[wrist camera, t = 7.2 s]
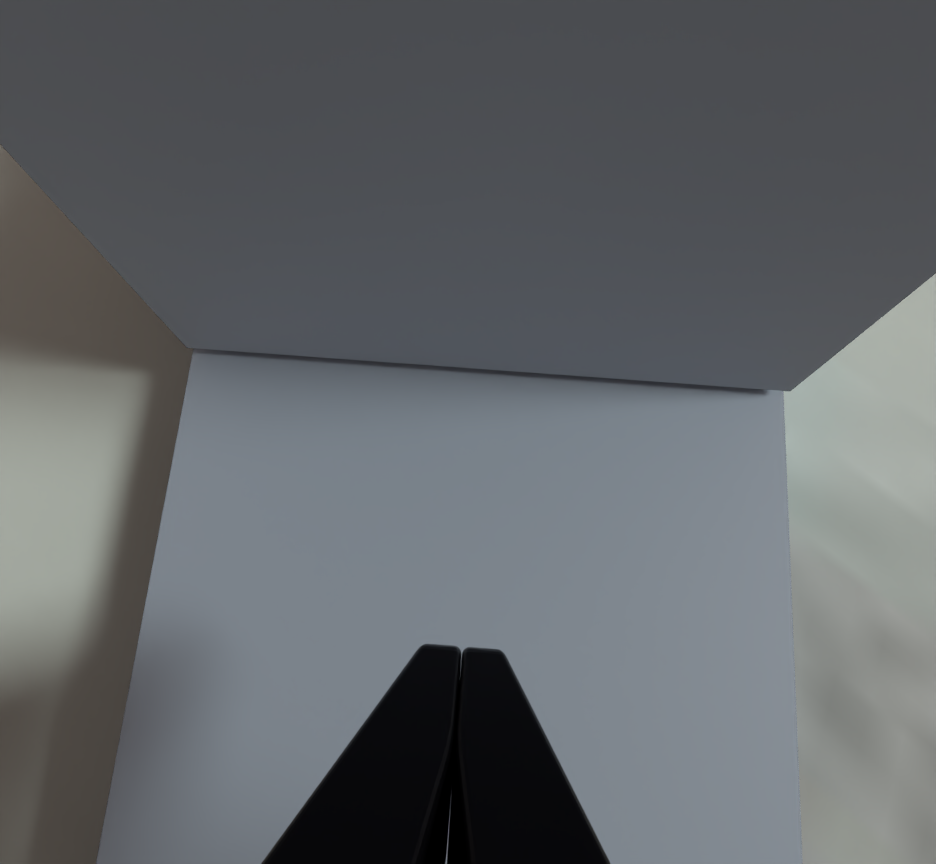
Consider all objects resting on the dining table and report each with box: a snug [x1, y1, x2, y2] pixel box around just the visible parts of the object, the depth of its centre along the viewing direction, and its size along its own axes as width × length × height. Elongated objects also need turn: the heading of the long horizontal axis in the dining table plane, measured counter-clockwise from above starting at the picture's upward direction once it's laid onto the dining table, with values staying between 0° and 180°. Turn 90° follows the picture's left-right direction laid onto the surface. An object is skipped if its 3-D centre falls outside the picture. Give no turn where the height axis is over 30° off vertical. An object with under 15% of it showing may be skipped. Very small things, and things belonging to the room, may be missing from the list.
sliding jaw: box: [0, 0, 936, 391], centre depth 10 cm, size 2×11×9 cm, turn 85°
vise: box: [96, 348, 802, 864], centre depth 12 cm, size 19×11×6 cm, turn 176°
